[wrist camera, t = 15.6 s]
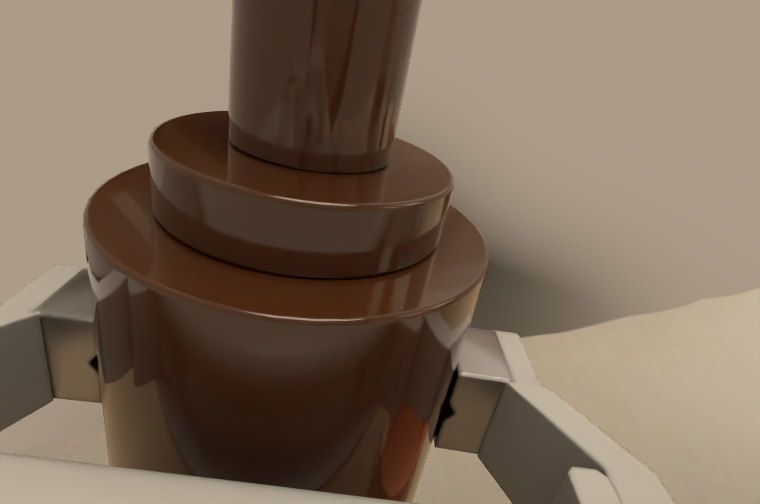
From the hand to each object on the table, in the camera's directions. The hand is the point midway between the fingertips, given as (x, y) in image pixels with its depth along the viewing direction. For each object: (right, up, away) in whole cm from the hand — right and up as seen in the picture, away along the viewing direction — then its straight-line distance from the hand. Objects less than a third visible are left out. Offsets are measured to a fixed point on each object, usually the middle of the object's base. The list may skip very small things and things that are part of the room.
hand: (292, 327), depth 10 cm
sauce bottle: (-2, -9, +3) cm, 10 cm away
